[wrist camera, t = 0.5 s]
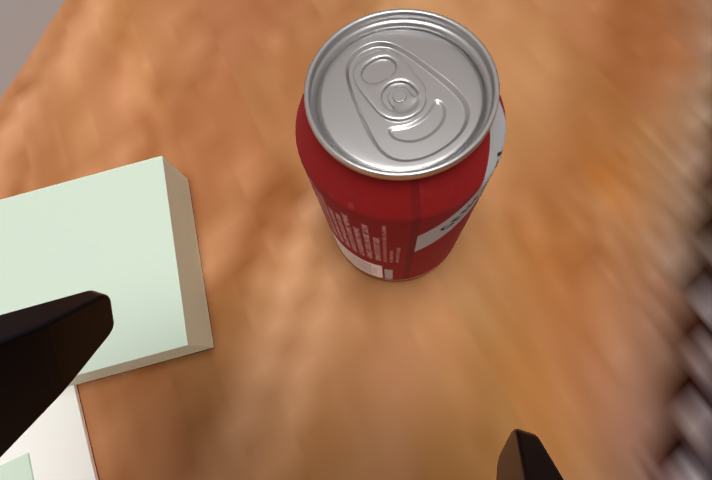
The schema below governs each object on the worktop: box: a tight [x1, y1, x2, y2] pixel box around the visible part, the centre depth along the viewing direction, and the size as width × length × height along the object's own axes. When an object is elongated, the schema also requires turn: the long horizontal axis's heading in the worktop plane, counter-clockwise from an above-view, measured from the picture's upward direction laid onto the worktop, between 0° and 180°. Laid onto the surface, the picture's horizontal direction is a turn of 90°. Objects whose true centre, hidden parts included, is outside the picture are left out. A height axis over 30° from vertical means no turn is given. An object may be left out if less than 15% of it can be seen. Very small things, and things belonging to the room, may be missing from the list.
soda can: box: [296, 9, 506, 281], centre depth 18 cm, size 7×7×12 cm
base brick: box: [0, 156, 214, 387], centre depth 22 cm, size 10×10×3 cm
